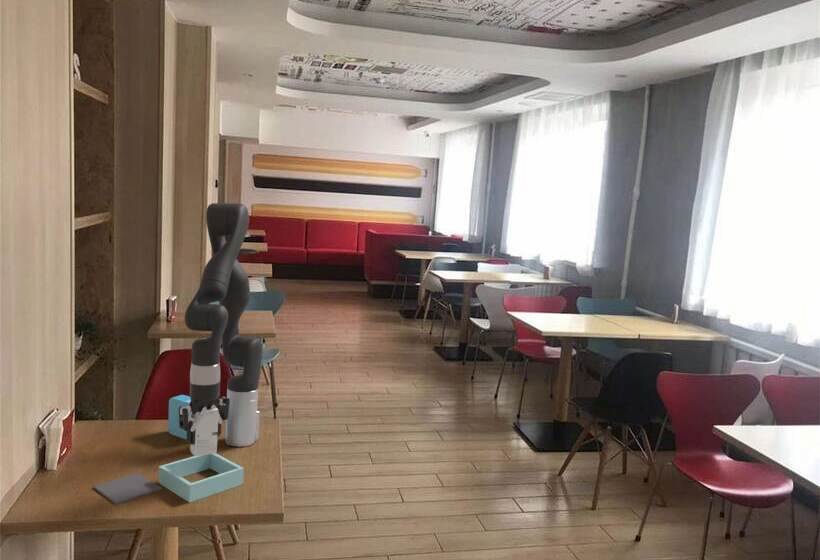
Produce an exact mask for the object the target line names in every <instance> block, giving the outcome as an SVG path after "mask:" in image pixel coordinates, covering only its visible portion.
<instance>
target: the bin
mask: <svg viewBox="0 0 820 560" xmlns="http://www.w3.org/2000/svg"><path fill="white" fill-rule="evenodd" d="M209 468H210V469H209ZM212 469H213V470H212ZM207 470H212V471H214V472H215V471H216V472H215V473H217V472H218V473H217V474H216V475H213V476H210V477H206V478H204V479H201V480H197V481H193V482H190V481H189V480H187V479H186V478H184V477H186V476H187V477H188V476H190V475H194V474H196V473H197V474H198V473H200V472H203V471H207ZM244 473H245V468H244V467H243V466H240V465H239V464H237V463H234V462H233V461H231V460H229V459H227V458H226V457H223V456H222V455H220V454H218V453H217V452H216V453H214V454H207V455H200V456H194V455H193V456H190V457H187V458H183V459H179V460H176V461H172V462H169V463H166V464H162V465H159V466H158V476H157V477H158V479H157V483H158V484H160V485H161V486H162V487H164V488H166V489H167V490H169V491H170V492H172V493H174V494H175V495H177V496H179V497H180V498H181V499H184V500H185V501H186V502H188V503H193V502H195V501H198V500H202V499H205V498H207V497H210V496H214V495H216V494H219V493H222V492H225V491H227V490H231V489H233V488H236V487H240V486H242V485H244V478H245V477H244V476H245V475H244Z"/></svg>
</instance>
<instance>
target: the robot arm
mask: <svg viewBox="0 0 820 560" xmlns="http://www.w3.org/2000/svg"><path fill="white" fill-rule="evenodd" d="M205 214H206V215H205V219H206V227H207V228H206V229H207V233H208V237H209V241H210V242H209V243H210V246H211V252H212V257H211V258H210V259H209V260H208V261H207V263H206V265H205V267H204V268H203V269H204V270H203V272H202V276H201V278H200V279H201V280H200V284H199V286H198V290H197V291H196V292H195V295H194V296H193V298H192V300H191V301H190V303H189V304H188V306H187V308H186V310H185V314H184V323H185V326H186V328H188V329H189V330H191V331H196V332H197V331H198V332H211V335H210V337H209V336H208V337H205V338H200V339H196V340H194V341H193V342H192V344H191V362H190V363H191V364H190V369H189V370H190V371H189V397H190V399H191V401H190V404H189V406H186V407H182V406H180V407H179V428H181V429H183V430H185V431H187V439H185V440H186V442H188V444H189V445H190V444H191V445H193V444H195V431H194V430H195V428H196V426H197V424H198V423H199V422H200V420H201V418H202V416H203V414H204V413H205V412H206V410H207V409H212V410H213V409H216V408H217V409H218V407H219V410H218V432H217V438H220V435H221V434H222V423H223V422H224V421H225V434H224V436H225V437H224V438H225V440H224V442H226V443H225V444H226V445H228V446H230V445H231V447H236V446H237V447H240V448H241V447H242V446H243V447H248V446H252V445H254V444H255V443H256V442H259V433H260V431H259V430H260V415H261V414H260V411H259V410H258V401H259V397H258V396H259V395H258V394H259V383H260V378H261V370H262V359H263V344H262V341H261V340H260V339H259V338H256V337H251V336H245V335H243V336H242V335H240V334H241V333H240V331H239V322H240V319H241V317H242V315H243V314H244V313H245V312H244V311H245V310H246V308H248V307H247V306H248V305H249V303H250V300H251V289H250V287H251V286H250V280H249V276H248V275H249V274H248V273H247V271H246V270H245V269H244V267H243V266H242V264H241V262H239V261H238V260H237V258H238V255H239V253H240V251H241V248H242V246H243V242H244V240H245V238H246V235H247V233H248V229H249V225H250V213H249V210H248V208H247V206H246V205H245V204H243V203H233V202H230V203H229V202H227V203H225V202H224V203H223V202H221V203H219V202H217V203H216V202H213V203H210V204H209V205H208V206H207V209H206V211H205ZM226 237H228V238H227V240H226ZM217 302H218V303H219V304H217ZM221 346H222V347H221ZM221 350H222V356H223V359H224V361H225V364H227V365H230V366H234V367H240V368H241V367H242V368H243V370H242V374H241V373H240V374H236V375H233V376H230V377H229V378H228V380H227V384H226V388H227V390H226V396H224V395H222V396H221V363H220V362H221ZM220 396H221V397H220ZM190 410H191V411H192V412H191V414H190V413H189V411H190ZM196 412H199V413H198V415H197V417H196V419H194V418H193V414H194V415H195V414H196ZM189 414H190V416H189V418H188V415H189ZM188 419H189V420H188ZM255 441H256V442H255ZM243 447H242V448H243Z"/></svg>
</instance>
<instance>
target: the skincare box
mask: <svg viewBox="0 0 820 560" xmlns="http://www.w3.org/2000/svg"><path fill="white" fill-rule="evenodd" d="M218 412H219V409H218V407H217V408H216V409H213V410H212V409H207V410H206V412H205V413H204V414H203V416H202V418H201V420H200V422H199V423H198V424H197V426H196V428H195V430H194V431H195V444H193V445H191V444H189V447H190V448H189V451H190V453H191V454H192V455H193V456H200V455H207V454H214V453H216V454H217V451H218V449H217V448H218V437H217V432H218ZM198 413H199V412H196V414H195V415H194V414H193V418H194V419H196V417H197V415H198Z"/></svg>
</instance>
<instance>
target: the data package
mask: <svg viewBox="0 0 820 560" xmlns="http://www.w3.org/2000/svg"><path fill="white" fill-rule="evenodd" d="M190 401H191V399H190V395H184V394H180V395H177V396H173V397H171V398H169V400H168V428H167V430H168V433H169V434H170V435H171V434H172V435H171V436H174V435H175V437H177V438H180V439H183V440H186V439H187V431H185V430H183V429H181V428H179V407H180V406H182V407H186V406H189V404H190ZM191 412H192V411H191V410H190V411H189V413H190V414H191ZM190 414H189V415H188V418H189V416H190ZM188 420H189V419H188Z"/></svg>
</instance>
